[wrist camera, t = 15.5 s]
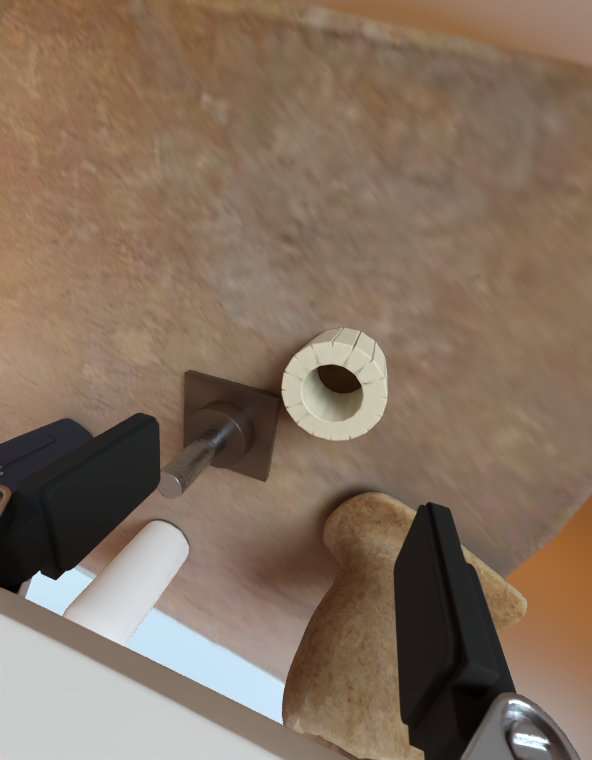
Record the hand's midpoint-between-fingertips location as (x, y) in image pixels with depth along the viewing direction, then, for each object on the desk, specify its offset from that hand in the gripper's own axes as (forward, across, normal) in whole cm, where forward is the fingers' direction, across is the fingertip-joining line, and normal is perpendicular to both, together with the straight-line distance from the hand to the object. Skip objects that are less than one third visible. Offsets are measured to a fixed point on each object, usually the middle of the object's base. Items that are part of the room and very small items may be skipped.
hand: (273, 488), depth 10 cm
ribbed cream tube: (+14, -1, 0) cm, 14 cm away
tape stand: (+14, +8, +8) cm, 18 cm away
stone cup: (+14, -10, +16) cm, 23 cm away
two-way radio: (+15, +27, +15) cm, 34 cm away
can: (+14, +15, +27) cm, 34 cm away
